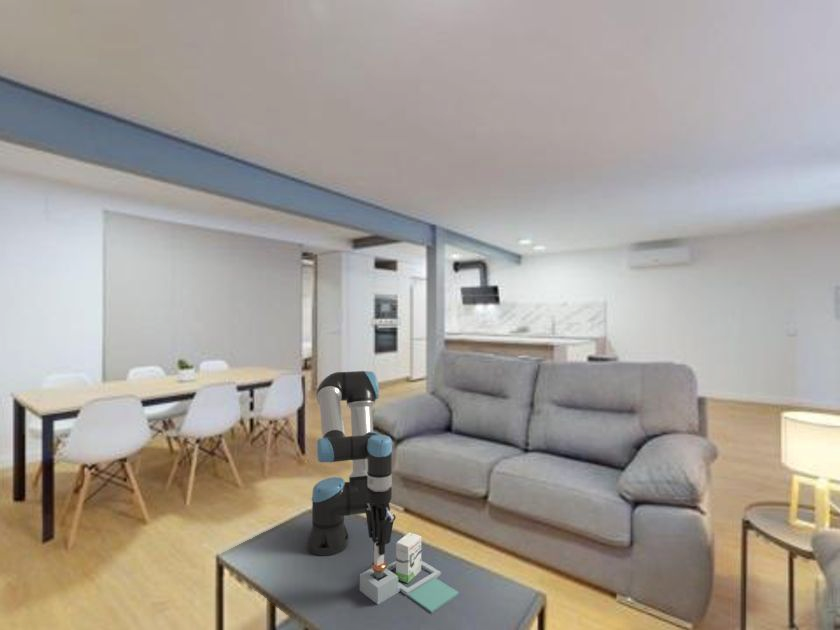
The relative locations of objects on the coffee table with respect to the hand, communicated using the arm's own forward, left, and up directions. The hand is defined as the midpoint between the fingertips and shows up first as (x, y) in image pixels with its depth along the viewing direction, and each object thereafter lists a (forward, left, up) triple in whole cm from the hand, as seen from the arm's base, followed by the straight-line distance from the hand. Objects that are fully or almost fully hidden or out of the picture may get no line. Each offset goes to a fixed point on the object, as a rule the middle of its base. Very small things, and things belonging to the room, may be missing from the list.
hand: (379, 563), depth 133 cm
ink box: (0, +13, -9) cm, 15 cm away
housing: (0, +8, -9) cm, 12 cm away
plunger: (0, 0, -6) cm, 6 cm away
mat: (+13, +11, -9) cm, 19 cm away
